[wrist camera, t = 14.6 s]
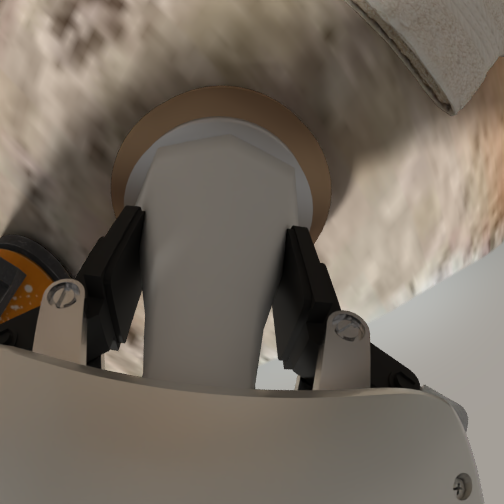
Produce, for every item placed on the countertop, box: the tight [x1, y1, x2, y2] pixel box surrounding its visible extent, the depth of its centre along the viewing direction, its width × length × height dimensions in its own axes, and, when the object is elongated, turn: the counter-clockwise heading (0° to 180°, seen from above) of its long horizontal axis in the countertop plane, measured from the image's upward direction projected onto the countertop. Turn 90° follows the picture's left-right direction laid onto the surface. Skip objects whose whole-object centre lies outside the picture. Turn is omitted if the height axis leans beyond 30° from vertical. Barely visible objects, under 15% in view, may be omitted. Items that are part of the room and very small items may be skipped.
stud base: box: [111, 86, 331, 244], centre depth 14 cm, size 11×11×4 cm
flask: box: [135, 134, 299, 389], centre depth 9 cm, size 7×7×10 cm
